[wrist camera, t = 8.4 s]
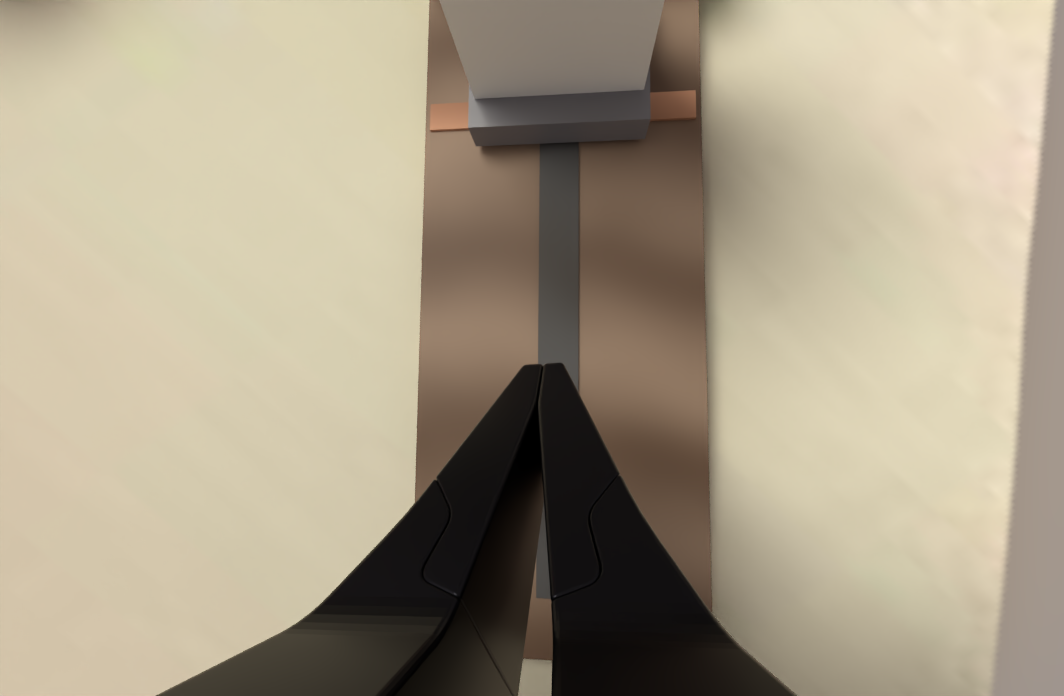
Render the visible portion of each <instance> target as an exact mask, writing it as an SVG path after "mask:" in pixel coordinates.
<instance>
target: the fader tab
mask: <svg viewBox="0 0 1064 696" xmlns="http://www.w3.org/2000/svg"><path fill="white" fill-rule="evenodd" d="M439 1H440V3H441V6H442V9H443V12H444V15H445V18H446V20H447V23H448V26H449V29H450V32H451V34H452V37H453V40H454V43H455V46H456V48H457V51H458V54H459V57H460V60H461V62H462V65H463V68H464V71H465V74H466V76H467V79H468V82H469V108H468V129H469V131H470V133H471V136H472V138H473V141H474V143H475V145H476V146H499V145H522V144H545V143H568V142H591V141H614V140H637V139H645V137H646V133H647V130H648V126H649V123H650V119H651V113H650V61H651V57H652V53H653V48H654V44H655V40H656V35H657V31H658V27H659V22H660V18H661V14H662V9H663V5H664V1H665V0H439Z"/></svg>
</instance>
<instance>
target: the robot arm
mask: <svg viewBox="0 0 1064 696" xmlns="http://www.w3.org/2000/svg"><path fill="white" fill-rule="evenodd" d="M543 503H544V511H545V525H546V540H547V554H548V568H549V583H550V597H551V602H552V603H551V611H552V633H553V661H552V696H797V695H796V694H795V693H794V692H792V691H791V690H790V689H789V688H788V687H787V686H786V685H784V684H783V683H782V682H781V681H780V680H779V679H778V678H776V677H775V676H774V675H773V674H772V673H771V672H770V671H768V670H767V669H766V668H765V667H764V666H763V665H762V664H760V663H759V662H758V661H757V660H756V659H755V658H753V657H752V656H751V655H750V654H749V653H748V652H747V651H746V650H744V649H743V648H742V647H741V646H740V645H739V644H738V643H737V642H736V641H735V640H734V639H733V638H732V637H731V636H730V634H729V633H728V632H727V631H726V630H725V629H724V628H723V626H722V625H721V624H720V623H719V622H718V620H717V619H716V618H715V617H714V615H713V614H712V613H711V611H710V610H709V609H708V607H707V606H706V605H705V603H704V602H703V600H702V599H701V598H700V596H699V595H698V593H697V592H696V591H695V589H694V588H693V586H692V585H691V583H690V582H689V581H688V579H687V578H686V576H685V575H684V574H683V572H682V571H681V569H680V568H679V567H678V565H677V564H676V562H675V561H674V559H673V558H672V557H671V555H670V554H669V552H668V551H667V550H666V548H665V547H664V545H663V544H662V543H661V541H660V540H659V538H658V537H657V535H656V534H655V532H654V531H653V529H652V528H651V526H650V524H649V523H648V521H647V520H646V518H645V517H644V515H643V514H642V512H641V510H640V508H639V507H638V505H637V503H636V501H635V500H634V498H633V496H632V494H631V492H630V491H629V489H628V487H627V485H626V483H625V481H624V479H623V477H622V476H620V472H619V470H618V468H617V466H616V464H615V462H614V460H613V458H612V456H611V454H610V452H609V451H608V449H607V447H606V445H605V443H604V441H603V439H602V437H601V435H600V433H599V431H598V429H597V427H596V425H595V423H594V422H593V420H592V418H591V416H590V414H589V412H588V410H587V408H586V406H585V404H584V402H583V400H582V398H581V396H580V394H579V393H578V391H577V389H576V387H575V385H574V383H573V381H572V379H571V377H570V375H569V373H568V371H567V369H566V367H565V365H564V364H563V363H546V364H544V366H543V365H542V364H527V365H524V366H522V368H521V369H520V370H519V371H518V373H517V374H516V375H515V376H514V378H513V379H512V380H511V382H510V383H509V384H508V385H507V387H506V388H505V389H504V391H503V392H502V393H501V394H500V396H499V397H498V398H497V399H496V401H495V402H494V403H493V405H492V406H491V407H490V408H489V410H488V411H487V412H486V414H485V415H484V416H483V417H482V419H481V420H480V421H479V422H478V424H477V425H476V426H475V428H474V429H473V430H472V431H471V433H470V434H469V435H468V437H467V438H466V439H465V440H464V442H463V443H462V444H461V445H460V447H459V448H458V449H457V451H456V452H455V453H454V454H453V456H452V457H451V458H450V459H449V461H448V462H447V463H446V465H445V466H444V467H443V468H442V470H441V471H440V472H439V474H438V475H437V476H436V480H433V481H432V482H431V483H430V485H429V486H428V487H427V489H426V490H425V491H424V492H423V494H422V495H421V496H420V497H419V499H418V500H417V501H416V502H415V503H414V505H413V506H412V507H411V508H410V509H409V511H408V512H407V513H406V514H405V515H404V517H403V518H402V519H401V520H400V521H399V522H398V523H397V524H396V525H395V526H394V528H393V529H392V530H391V531H390V532H389V533H388V534H387V535H386V536H385V537H384V539H383V540H382V541H381V542H380V543H379V544H378V545H377V546H376V547H375V548H374V549H373V550H372V551H371V552H370V553H369V554H368V555H367V556H366V557H365V558H364V559H363V561H362V562H361V563H360V564H359V565H358V566H357V567H356V568H355V569H354V570H353V571H352V572H351V573H350V574H349V575H348V576H347V577H346V578H345V579H344V580H343V581H342V583H341V584H340V585H339V586H338V587H337V588H336V589H335V590H334V591H333V592H332V593H331V594H330V595H329V596H328V597H327V598H326V599H325V600H324V601H323V602H322V603H321V604H320V605H319V606H318V607H316V608H315V609H314V610H313V611H312V612H311V613H310V614H308V615H307V616H306V617H304V618H303V619H302V620H300V621H299V622H298V623H296V624H294V625H293V626H291V627H290V628H288V629H287V630H285V631H283V632H281V633H279V634H277V635H275V636H273V637H271V638H269V639H267V640H265V641H263V642H261V643H259V644H257V645H255V646H253V647H251V648H249V649H247V650H245V651H243V652H242V653H240V654H238V655H236V656H234V657H232V658H230V659H228V660H226V661H224V662H222V663H220V664H218V665H216V666H214V667H212V668H210V669H208V670H206V671H204V672H202V673H200V674H198V675H196V676H194V677H192V678H190V679H188V680H186V681H184V682H182V683H180V684H178V685H176V686H174V687H172V688H170V689H168V690H166V691H164V692H162V693H160V694H158V695H156V696H518V691H519V683H520V676H521V668H522V661H523V653H524V646H525V638H526V631H527V623H528V616H529V608H530V601H531V593H532V586H533V578H534V571H535V563H536V556H537V548H538V541H539V533H540V526H541V518H542V511H543Z"/></svg>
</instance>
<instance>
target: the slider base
mask: <svg viewBox="0 0 1064 696" xmlns="http://www.w3.org/2000/svg"><path fill="white" fill-rule="evenodd" d="M468 108H469V82H468V79H467V76H466V74H465V71H464V68H463V65H462V62H461V60H460V57H459V54H458V51H457V48H456V46H455V43H454V40H453V37H452V34H451V32H450V29H449V26H448V23H447V20H446V18H445V15H444V12H443V9H442V6H441V3H440V1H439V0H430V3H429V38H428V72H427V106H426V140H425V175H424V209H423V243H422V277H421V312H420V346H419V380H418V414H417V448H416V483H415V502H416V501H417V500H418V499H419V497H420V496H421V495H422V494H423V492H424V491H425V490H426V489H427V487H428V486H429V485H430V483H431V482H432V481H433V480H436V476H437V475H438V474H439V472H440V471H441V470H442V468H443V467H444V466H445V465H446V463H447V462H448V461H449V459H450V458H451V457H452V456H453V454H454V453H455V452H456V451H457V449H458V448H459V447H460V445H461V444H462V443H463V442H464V440H465V439H466V438H467V437H468V435H469V434H470V433H471V431H472V430H473V429H474V428H475V426H476V425H477V424H478V422H479V421H480V420H481V419H482V417H483V416H484V415H485V414H486V412H487V411H488V410H489V408H490V407H491V406H492V405H493V403H494V402H495V401H496V399H497V398H498V397H499V396H500V394H501V393H502V392H503V391H504V389H505V388H506V387H507V385H508V384H509V383H510V382H511V380H512V379H513V378H514V376H515V375H516V374H517V373H518V371H519V370H520V369H521V368H522V366H524V365H527V364H542V365H543V366H544V364H546V363H563V364H564V365H565V367H566V369H567V371H568V373H569V375H570V377H571V379H572V381H573V383H574V385H575V387H576V389H577V391H578V393H579V394H580V396H581V398H582V400H583V402H584V404H585V406H586V408H587V410H588V412H589V414H590V416H591V418H592V420H593V422H594V423H595V425H596V427H597V429H598V431H599V433H600V435H601V437H602V439H603V441H604V443H605V445H606V447H607V449H608V451H609V452H610V454H611V456H612V458H613V460H614V462H615V464H616V466H617V468H618V470H619V472H620V476H622V477H623V479H624V481H625V483H626V485H627V487H628V489H629V491H630V492H631V494H632V496H633V498H634V500H635V501H636V503H637V505H638V507H639V508H640V510H641V512H642V514H643V515H644V517H645V518H646V520H647V521H648V523H649V524H650V526H651V528H652V529H653V531H654V532H655V534H656V535H657V537H658V538H659V540H660V541H661V543H662V544H663V545H664V547H665V548H666V550H667V551H668V552H669V554H670V555H671V557H672V558H673V559H674V561H675V562H676V564H677V565H678V567H679V568H680V569H681V571H682V572H683V574H684V575H685V576H686V578H687V579H688V581H689V582H690V583H691V585H692V586H693V588H694V589H695V591H696V592H697V593H698V595H699V596H700V598H701V599H702V600H703V602H704V603H705V605H706V606H707V607H708V609H709V610H710V611H711V613H712V597H711V550H710V504H709V458H708V412H707V366H706V320H705V274H704V228H703V182H702V136H701V90H700V43H699V0H665V1H664V5H663V9H662V14H661V18H660V22H659V27H658V31H657V35H656V40H655V44H654V48H653V53H652V57H651V61H650V113H651V119H650V123H649V126H648V130H647V133H646V137H645V139H637V140H614V141H591V142H568V143H545V144H522V145H499V146H476V145H475V143H474V141H473V138H472V136H471V133H470V131H469V129H468ZM551 603H552V602H551V597H550V583H549V568H548V554H547V540H546V525H545V511H544V503H543V511H542V518H541V526H540V533H539V541H538V548H537V556H536V563H535V571H534V578H533V586H532V593H531V601H530V608H529V616H528V623H527V631H526V638H525V646H524V653H523V658H526V659H541V660H553V633H552V611H551Z"/></svg>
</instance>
